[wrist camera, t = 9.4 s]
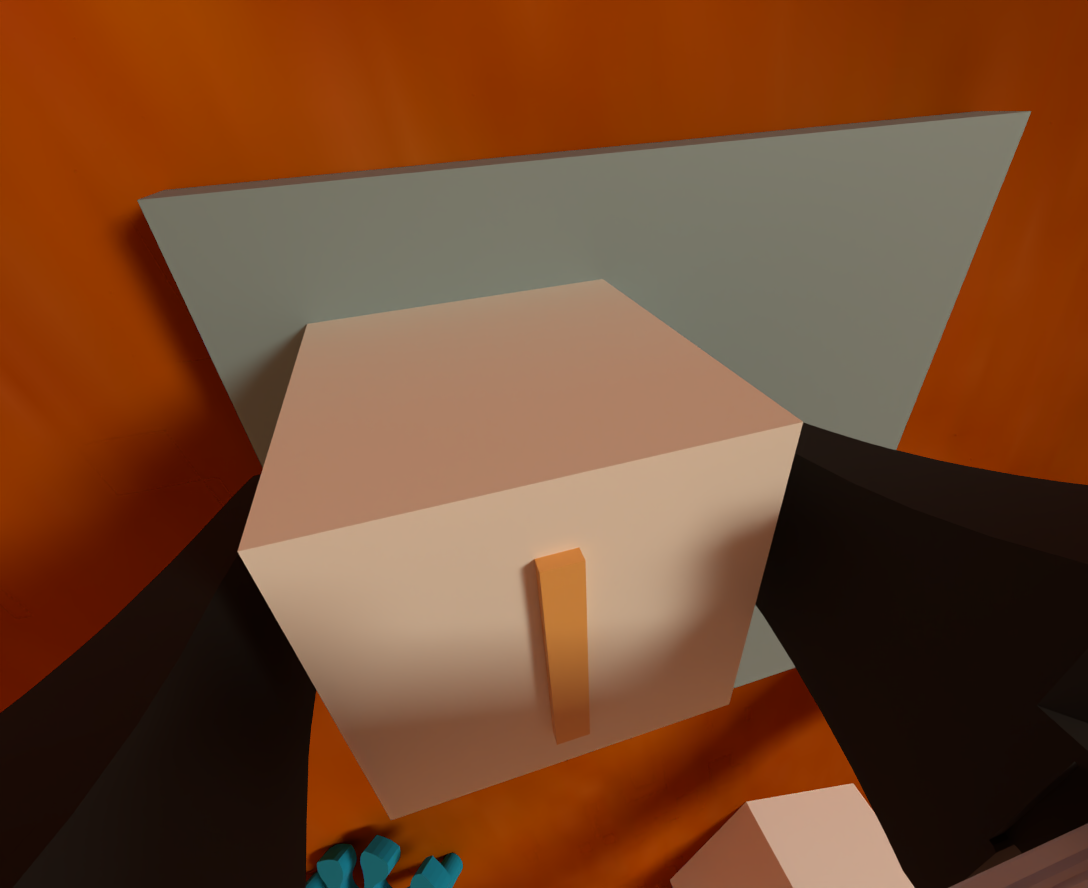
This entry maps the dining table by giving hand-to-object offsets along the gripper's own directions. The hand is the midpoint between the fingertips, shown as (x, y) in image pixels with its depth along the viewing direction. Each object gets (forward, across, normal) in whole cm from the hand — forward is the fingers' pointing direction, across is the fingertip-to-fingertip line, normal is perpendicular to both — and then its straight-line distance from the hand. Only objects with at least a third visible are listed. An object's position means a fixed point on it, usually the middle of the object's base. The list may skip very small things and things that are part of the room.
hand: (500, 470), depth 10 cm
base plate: (+3, -4, +5) cm, 7 cm away
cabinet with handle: (+2, 0, 0) cm, 2 cm away
